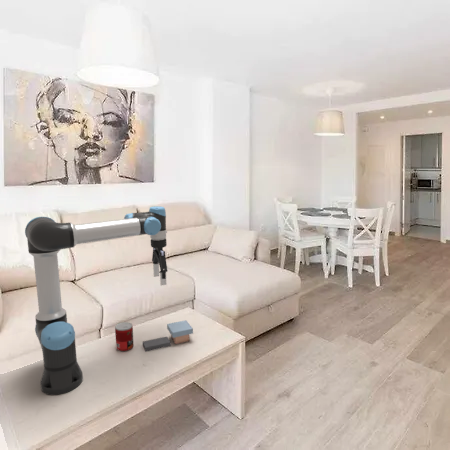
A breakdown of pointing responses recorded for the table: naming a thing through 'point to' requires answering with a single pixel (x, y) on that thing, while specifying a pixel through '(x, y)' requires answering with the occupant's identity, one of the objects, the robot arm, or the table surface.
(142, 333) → the table surface
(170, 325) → the blue square slab
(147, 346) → the block
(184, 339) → the open box
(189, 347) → the table surface
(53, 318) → the robot arm
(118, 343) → the canned food
